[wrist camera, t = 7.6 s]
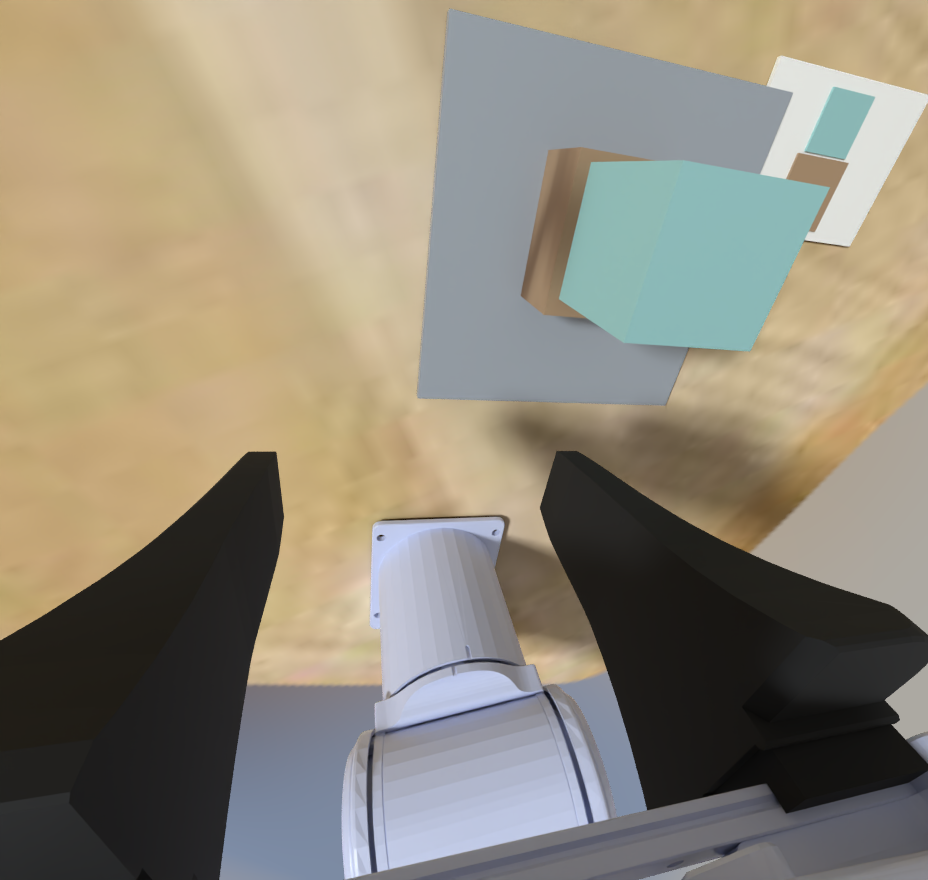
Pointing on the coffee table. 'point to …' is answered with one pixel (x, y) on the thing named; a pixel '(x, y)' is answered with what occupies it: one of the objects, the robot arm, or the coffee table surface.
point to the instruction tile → (839, 140)
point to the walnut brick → (559, 225)
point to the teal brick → (685, 251)
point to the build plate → (518, 190)
